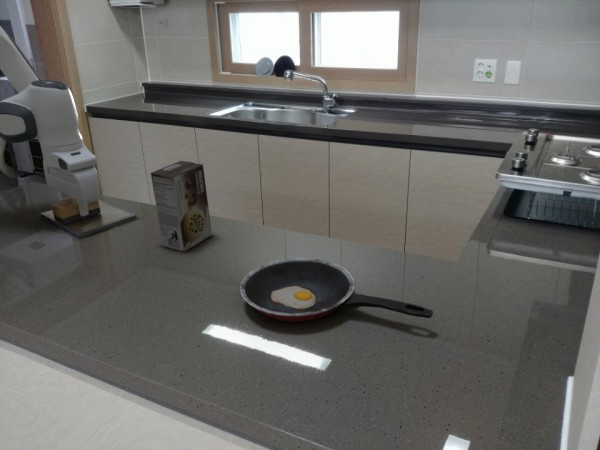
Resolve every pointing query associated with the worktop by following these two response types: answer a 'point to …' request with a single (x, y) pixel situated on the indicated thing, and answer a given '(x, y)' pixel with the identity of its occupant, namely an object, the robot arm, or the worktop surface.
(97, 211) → the eraser
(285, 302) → the frying pan
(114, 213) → the whiteboard
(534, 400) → the worktop surface
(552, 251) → the worktop surface
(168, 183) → the coffee box
